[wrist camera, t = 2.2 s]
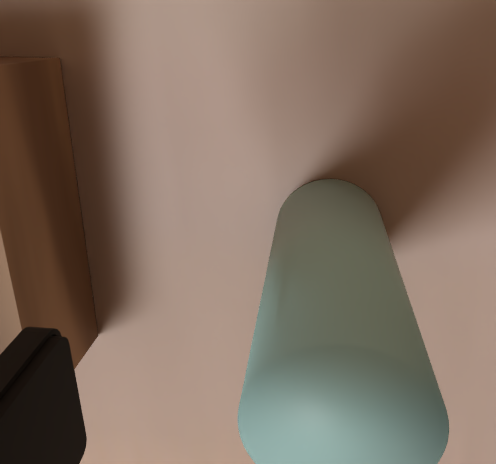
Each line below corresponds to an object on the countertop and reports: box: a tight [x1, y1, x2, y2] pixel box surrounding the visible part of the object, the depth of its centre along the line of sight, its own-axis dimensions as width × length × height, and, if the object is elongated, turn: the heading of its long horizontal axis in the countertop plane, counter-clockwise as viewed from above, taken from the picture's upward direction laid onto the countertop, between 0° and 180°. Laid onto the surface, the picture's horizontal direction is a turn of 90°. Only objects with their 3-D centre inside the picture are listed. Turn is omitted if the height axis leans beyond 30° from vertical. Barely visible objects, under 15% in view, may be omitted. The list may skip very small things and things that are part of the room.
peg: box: [238, 179, 449, 464], centre depth 14 cm, size 4×4×10 cm
